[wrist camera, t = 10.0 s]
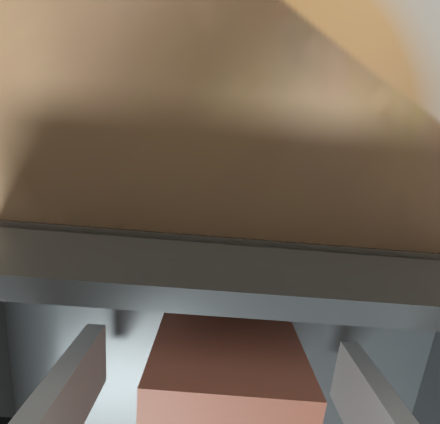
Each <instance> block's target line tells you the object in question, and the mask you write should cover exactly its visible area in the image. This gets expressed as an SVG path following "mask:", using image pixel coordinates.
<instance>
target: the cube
mask: <svg viewBox="0 0 440 424" xmlns="http://www.w3.org/2000/svg"><path fill="white" fill-rule="evenodd" d="M326 406H327V401H326V399H325V397H324V394H323V392H322V390H321V388H320V385H319V383H318V381H317V379H316V376H315V374H314V372H313V369H312V367H311V365H310V363H309V360H308V358H307V356H306V354H305V351H304V349H303V347H302V345H301V342H300V340H299V338H298V336H297V333H296V331H295V329H294V326H293V324H292V322H290V321H275V320H261V319H247V318H233V317H218V316H204V315H190V314H176V313H164V315H163V317H162V320H161V323H160V326H159V329H158V332H157V334H156V337H155V340H154V343H153V346H152V349H151V351H150V354H149V357H148V360H147V363H146V366H145V368H144V371H143V374H142V377H141V380H140V382H139V385H138V388H137V415H136V424H323V420H324V415H325V411H326Z"/></svg>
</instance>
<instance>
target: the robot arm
mask: <svg viewBox="0 0 440 424" xmlns="http://www.w3.org/2000/svg"><path fill="white" fill-rule="evenodd" d="M105 382H106V325H100V324H87V325H86V326H85V327H84V328H83V330H82V331H81V332H80V333H79V335H78V336H77V337H76V338H75V340H74V341H73V342H72V343H71V345H70V346H69V347H68V348H67V350H66V351H65V352H64V354H63V355H62V356H61V357H60V359H59V360H58V361H57V362H56V364H55V365H54V366H53V367H52V369H51V370H50V371H49V372H48V374H47V375H46V376H45V377H44V379H43V380H42V381H41V382H40V384H39V385H38V386H37V388H36V389H35V390H34V391H33V393H32V394H31V395H30V396H29V398H28V399H27V400H26V401H25V403H24V404H23V405H22V406H21V408H20V409H19V410H18V411H17V413H16V414H15V415H14V416H13V418H11V417H0V424H84V423H85V421H86V419H87V417H88V415H89V413H90V411H91V409H92V407H93V405H94V403H95V401H96V399H97V397H98V395H99V393H100V391H101V389H102V387H103V385H104V384H105ZM330 396H331V398H332V401H333V403H334V405H335V407H336V409H337V411H338V413H339V416H340V418H341V420H342V422H343V424H419V422H418V421H417V420H416V418H415V417H414V416H413V415H412V413H411V412H410V411H409V409H408V408H407V407H406V405H405V404H404V403H403V401H402V400H401V399H400V397H399V396H398V395H397V393H396V392H395V391H394V389H393V388H392V387H391V385H390V384H389V383H388V381H387V380H386V379H385V377H384V376H383V375H382V373H381V372H380V371H379V369H378V368H377V367H376V365H375V364H374V363H373V361H372V360H371V359H370V357H369V356H368V355H367V353H366V352H365V351H364V349H363V348H362V347H361V346H360V344H359V343H358V342H346V341H340V346H339V351H338V356H337V361H336V365H335V370H334V375H333V380H332V385H331V390H330Z"/></svg>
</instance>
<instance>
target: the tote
mask: <svg viewBox="0 0 440 424" xmlns="http://www.w3.org/2000/svg"><path fill="white" fill-rule="evenodd" d="M164 313H176V314H190V315H204V316H218V317H233V318H247V319H261V320H275V321H290V322H292V324H293V326H294V329H295V331H296V333H297V336H298V338H299V340H300V342H301V345H302V347H303V349H304V351H305V354H306V356H307V358H308V360H309V363H310V365H311V367H312V369H313V372H314V374H315V376H316V379H317V381H318V383H319V385H320V388H321V390H322V392H323V394H324V397H325V399H326V401H327V406H326V411H325V415H324V420H323V424H343V422H342V420H341V418H340V416H339V413H338V411H337V409H336V407H335V405H334V403H333V401H332V398H331V396H330V390H331V385H332V380H333V375H334V370H335V365H336V361H337V356H338V351H339V346H340V341H346V342H358V343H359V344H360V346H361V347H362V348H363V349H364V351H365V352H366V353H367V355H368V356H369V357H370V359H371V360H372V361H373V363H374V364H375V365H376V367H377V368H378V369H379V371H380V372H381V373H382V375H383V376H384V377H385V379H386V380H387V381H388V383H389V384H390V385H391V387H392V388H393V389H394V391H395V392H396V393H397V395H398V396H399V397H400V399H401V400H402V401H403V403H404V404H405V405H406V407H407V408H408V409H409V411H410V412H411V413H412V415H413V416H414V417H415V418H416V420H417V421H418V422H419V424H440V254H435V253H422V252H409V251H396V250H383V249H370V248H357V247H344V246H331V245H318V244H304V243H291V242H278V241H265V240H252V239H239V238H226V237H213V236H200V235H187V234H174V233H160V232H147V231H134V230H121V229H108V228H95V227H82V226H69V225H56V224H43V223H30V222H17V221H3V220H0V417H11V418H13V416H14V415H15V414H16V413H17V411H18V410H19V409H20V408H21V406H22V405H23V404H24V403H25V401H26V400H27V399H28V398H29V396H30V395H31V394H32V393H33V391H34V390H35V389H36V388H37V386H38V385H39V384H40V382H41V381H42V380H43V379H44V377H45V376H46V375H47V374H48V372H49V371H50V370H51V369H52V367H53V366H54V365H55V364H56V362H57V361H58V360H59V359H60V357H61V356H62V355H63V354H64V352H65V351H66V350H67V348H68V347H69V346H70V345H71V343H72V342H73V341H74V340H75V338H76V337H77V336H78V335H79V333H80V332H81V331H82V330H83V328H84V327H85V326H86V325H87V324H100V325H106V382H105V384H104V385H103V387H102V389H101V391H100V393H99V395H98V397H97V399H96V401H95V403H94V405H93V407H92V409H91V411H90V413H89V415H88V417H87V419H86V421H85V423H84V424H136V415H137V388H138V385H139V382H140V380H141V377H142V374H143V371H144V368H145V366H146V363H147V360H148V357H149V354H150V351H151V349H152V346H153V343H154V340H155V337H156V334H157V332H158V329H159V326H160V323H161V320H162V317H163V315H164Z"/></svg>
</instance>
